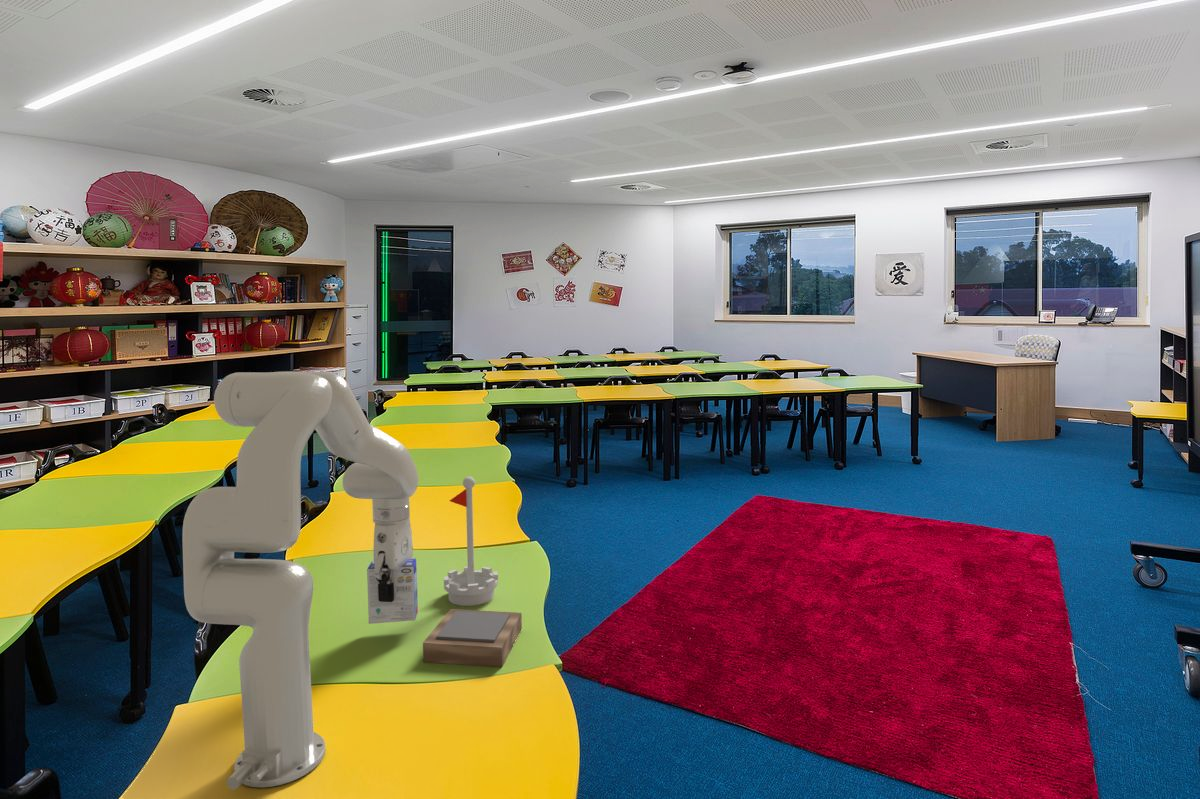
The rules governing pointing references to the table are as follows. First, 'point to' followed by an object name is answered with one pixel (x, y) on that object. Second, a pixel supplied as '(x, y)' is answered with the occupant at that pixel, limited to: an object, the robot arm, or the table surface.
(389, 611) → the ink cartridge box
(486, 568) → the flag stand
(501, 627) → the walnut plinth
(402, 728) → the table surface
